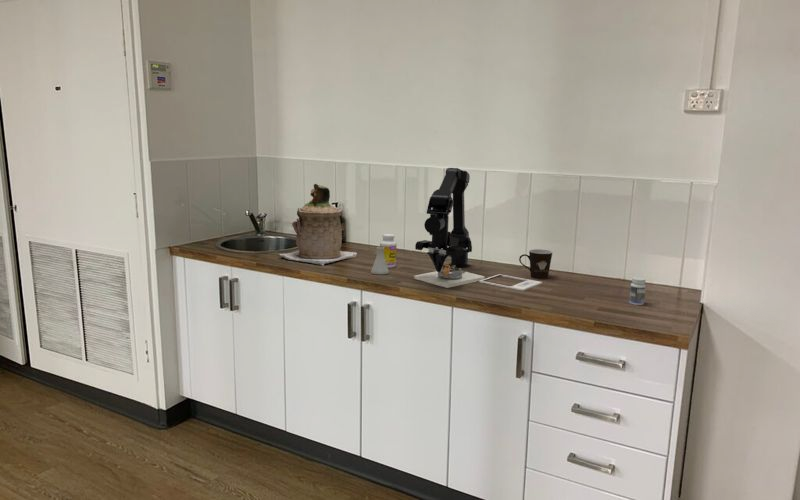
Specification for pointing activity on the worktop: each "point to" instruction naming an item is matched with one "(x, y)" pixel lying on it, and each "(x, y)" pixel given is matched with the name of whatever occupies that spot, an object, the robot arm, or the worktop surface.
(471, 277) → the stand
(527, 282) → the photo frame
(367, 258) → the worktop surface
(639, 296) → the pill bottle
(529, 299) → the worktop surface
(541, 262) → the coffee mug
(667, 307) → the worktop surface
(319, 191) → the cookie jar
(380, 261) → the flask
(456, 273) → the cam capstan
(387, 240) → the supplement bottle
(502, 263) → the worktop surface
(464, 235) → the robot arm
